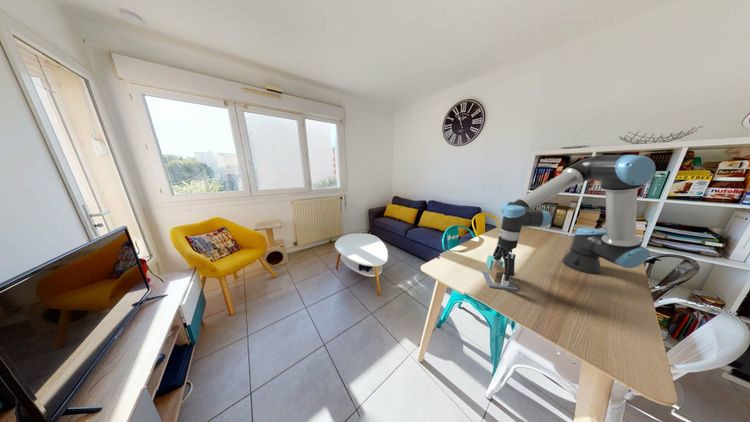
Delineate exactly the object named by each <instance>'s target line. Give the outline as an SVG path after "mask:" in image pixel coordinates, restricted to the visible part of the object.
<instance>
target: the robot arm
mask: <svg viewBox="0 0 750 422" xmlns="http://www.w3.org/2000/svg"><path fill="white" fill-rule="evenodd" d="M655 173H656V164H655V162H654V160H652V158H650V157H648V156H646V155H639V154H638V155H637V154H616V155H615V154H598V155H593V156H589V157H587V158H584V159H582V160H579V161H577V162H574V163H573V164H571V165H569V166H568V167H565V169H563V170H562V172H561V173H560V174H558V175H557V176H555V177H554V178H551V179H550V180H548V181H547V182H545V183H543V184H541V185H539V186H538V187H537V188H535V189H533V190H532V191H529V193H527V194H525V195H524V196H522V197H520V198H519V199H516V200H515V201H507V202H504V203H503V204H502V205H501V213H502V215H503V216H502V221H501V227H500V230H499V236H498V240H497V245H496V247H495V250H494V251H493V254H492V256H494V259H495V260H494V263H493V265H495V266H500V260H501V259H502V260H503V262H504V263H503V267H504V268H505V273H503V277H502V282H501V285H502V286H508V284H509V280H510V279H511V277H514V276H515V266H516V265H515V264H516V262H515V261H516V256H517V255H516V254H515V253H513V250H514V249H516V248H517V247H518V243H519V239H520V235H521V232H522V231H521V230H522V229H523V228H525V227H528V228H530V227H532V228H533V227H534V228H535V227H536V228H540V227H541V228H542V227H548V226H549V225H550V224H551V223H552V220H553V219H552V215H551V213H550V212H549V211H547V210H542V209H537V210H536V209H535V208H537V207H538V206H540V205H541V204H544V203H545V202H547V201H549V200H550V199H552V198H554V197H555V196H557V195H559V194H561V193H562V192H564V191H566V190H567V189H569V188H571V187H572V186H574V185H580V184H582V183H584V182H587V181H596V182H597V181H599V182H600V184H599V185H600V189H601V190H603V191H605V229H601V228H599V229H598V228H592V227H579V228H577V229H576V231H575V233H574V236H573V240H572V241H571V246H570V248H569V251H568V252H567V253H566V254H565V255H564V256H563V258H562V260H561V263H563V264H564V265H565V266H566V267H569V268H571V269H573V270H575V271H579V272H582V273H587V274H591V275H592V274H599V273H600V270H601V263H600V259H603V260H606V261H608V262H610V263H612V264H614V265H616V266H620V267H622V268H625V269H633V268H636V267H639V266H641V265H643V264H644V263H645V262H646V261H647V260H648V259H649V257H650V255H651V252H650V250H649V249H648V248H646V247H643V246H642V240H641V238H639V237H638V236H637V235H636V234H637V209H638V190H640V189H641V188H643V187H644V185H645V184H647V183H649V181H651V180H652V178H653V177H652V176H654V175H655ZM522 227H523V228H522Z"/></svg>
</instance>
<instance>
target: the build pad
mask: <svg viewBox="0 0 750 422" xmlns="http://www.w3.org/2000/svg"><path fill="white" fill-rule="evenodd" d="M482 273H483V274H482ZM490 273H491V271H485V270H484V271H482V272H481V274H482V276H483V275H484V276H483V278H484V279H486V280H485V281H486V284H487V285H488V287H489V288H492V289H499V290H506V291H513V292H518V291H519V289H518V288H517V286H516V285H515V283H514V282H513V281H512V279H511V278H510V280H509V284H508V286H502V285H501V283H495V282H494V281H493V280H492V278H491V276H490Z"/></svg>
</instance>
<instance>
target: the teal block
mask: <svg viewBox="0 0 750 422" xmlns="http://www.w3.org/2000/svg"><path fill="white" fill-rule="evenodd" d="M494 260H495V259H494V256H493V255H490V254H489V255H487V258H486V263H485V265H486V267H487V266H488V267H487V268H488V270H489V271H491V268H492V265H493V263H494ZM500 266H503V267H504V260H503V258H501V260H500Z"/></svg>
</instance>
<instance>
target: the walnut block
mask: <svg viewBox="0 0 750 422" xmlns="http://www.w3.org/2000/svg"><path fill="white" fill-rule="evenodd" d="M490 272H491V273H490V276H491V278H492V280H493V281H494V282H495V283H501V282H502V277H503V273H505V268H504V265H503V266H495V265H492V268H491V270H490Z"/></svg>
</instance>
